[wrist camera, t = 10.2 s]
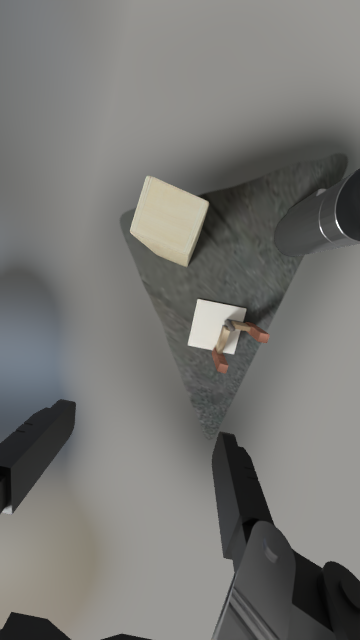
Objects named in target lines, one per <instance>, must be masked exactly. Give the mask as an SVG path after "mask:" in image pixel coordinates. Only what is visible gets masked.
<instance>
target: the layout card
mask: <svg viewBox="0 0 360 640" xmlns="http://www.w3.org/2000/svg"><path fill="white" fill-rule="evenodd" d="M246 310H247V309H246V308H241V307H236V306H231V305H226V304H221V303H216V302H211V301H206V300H201V299H198V300H197V305H196V309H195V314H194V319H193V323H192V328H191V332H190V337H189V341H188V345H190V346H195V347H200V348H205V349H210V350H213V348H214V347H216V345H217V342H218V339H219V336H220V333H221V330H222V328H223V326H225V327H227V328H228V329H229V327H228V326H227V325H226V324H225V322H224V321H225V320H226V319H227V320H228V321H229V322H230V323H231V321H236V322H241V323H243V320H244V317H245V313H246ZM229 330H230V329H229ZM240 331H241V330H238V329H235V331H231V330H230V333H229V336H228V339H227V342H226V344H225V347H224V350H223V352H225V353H230V354H234V352H235V349H236V345H237V342H238V338H239V334H240Z"/></svg>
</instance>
